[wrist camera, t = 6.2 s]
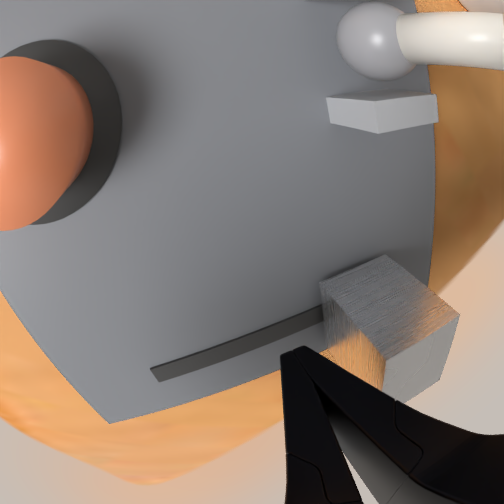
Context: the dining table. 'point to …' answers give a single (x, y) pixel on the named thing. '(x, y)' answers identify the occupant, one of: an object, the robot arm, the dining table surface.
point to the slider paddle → (387, 327)
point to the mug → (484, 5)
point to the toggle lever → (417, 40)
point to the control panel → (211, 191)
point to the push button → (39, 138)
